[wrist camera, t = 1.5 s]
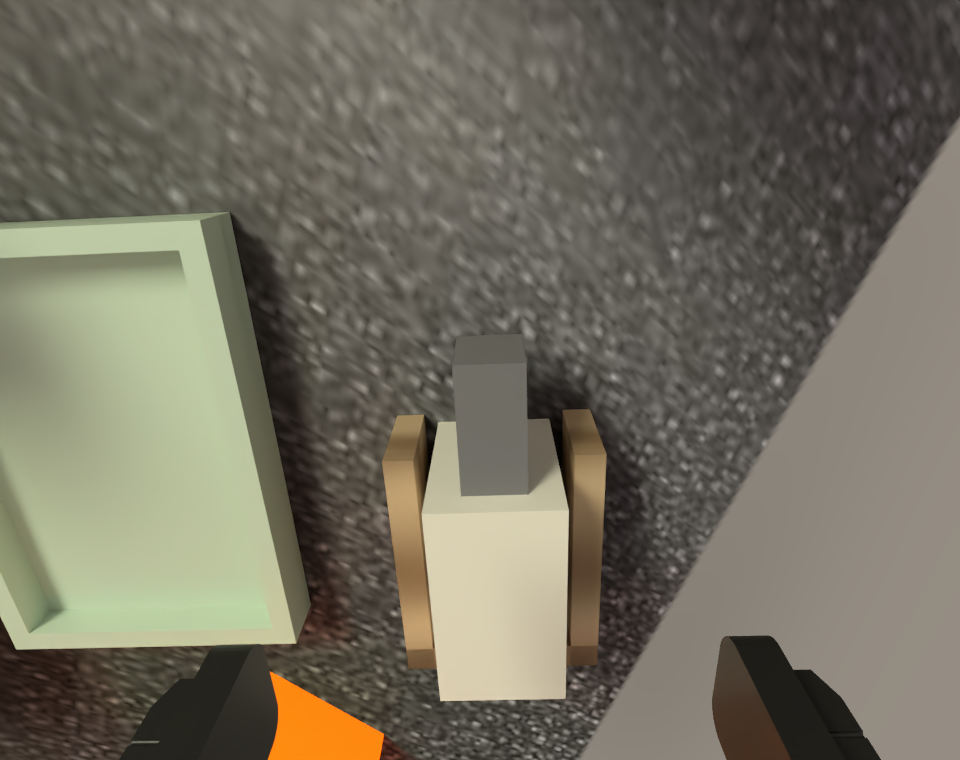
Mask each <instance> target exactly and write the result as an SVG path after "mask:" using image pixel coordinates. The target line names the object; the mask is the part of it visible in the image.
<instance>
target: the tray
mask: <svg viewBox="0 0 960 760" xmlns="http://www.w3.org/2000/svg"><path fill="white" fill-rule="evenodd" d="M310 606H311V602H310V597H309V593H308V588H307V583H306V578H305V573H304V569H303V564H302V559H301V554H300V549H299V544H298V540H297V535H296V530H295V525H294V520H293V516H292V511H291V506H290V501H289V496H288V491H287V487H286V482H285V477H284V472H283V467H282V463H281V458H280V453H279V448H278V443H277V438H276V434H275V429H274V424H273V419H272V414H271V410H270V405H269V400H268V395H267V390H266V385H265V381H264V376H263V371H262V366H261V361H260V356H259V352H258V347H257V342H256V337H255V332H254V328H253V323H252V318H251V313H250V308H249V303H248V299H247V294H246V289H245V284H244V279H243V275H242V270H241V265H240V260H239V255H238V250H237V246H236V241H235V236H234V231H233V226H232V222H231V217H230V212H222V213H200V214H178V215H157V216H135V217H114V218H92V219H71V220H49V221H27V222H6V223H0V617H1V619H2V621H3V623H4V625H5V627H6V629H7V631H8V633H9V635H10V638H11V640H12V642H13V644H14V646H15V648H16V650H18V649H64V648H110V647H157V646H203V645H230V644H295V643H297V640H298V638H299V635H300V632H301V630H302V627H303V625H304V622H305V619H306V617H307V614H308V612H309V609H310Z"/></svg>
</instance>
